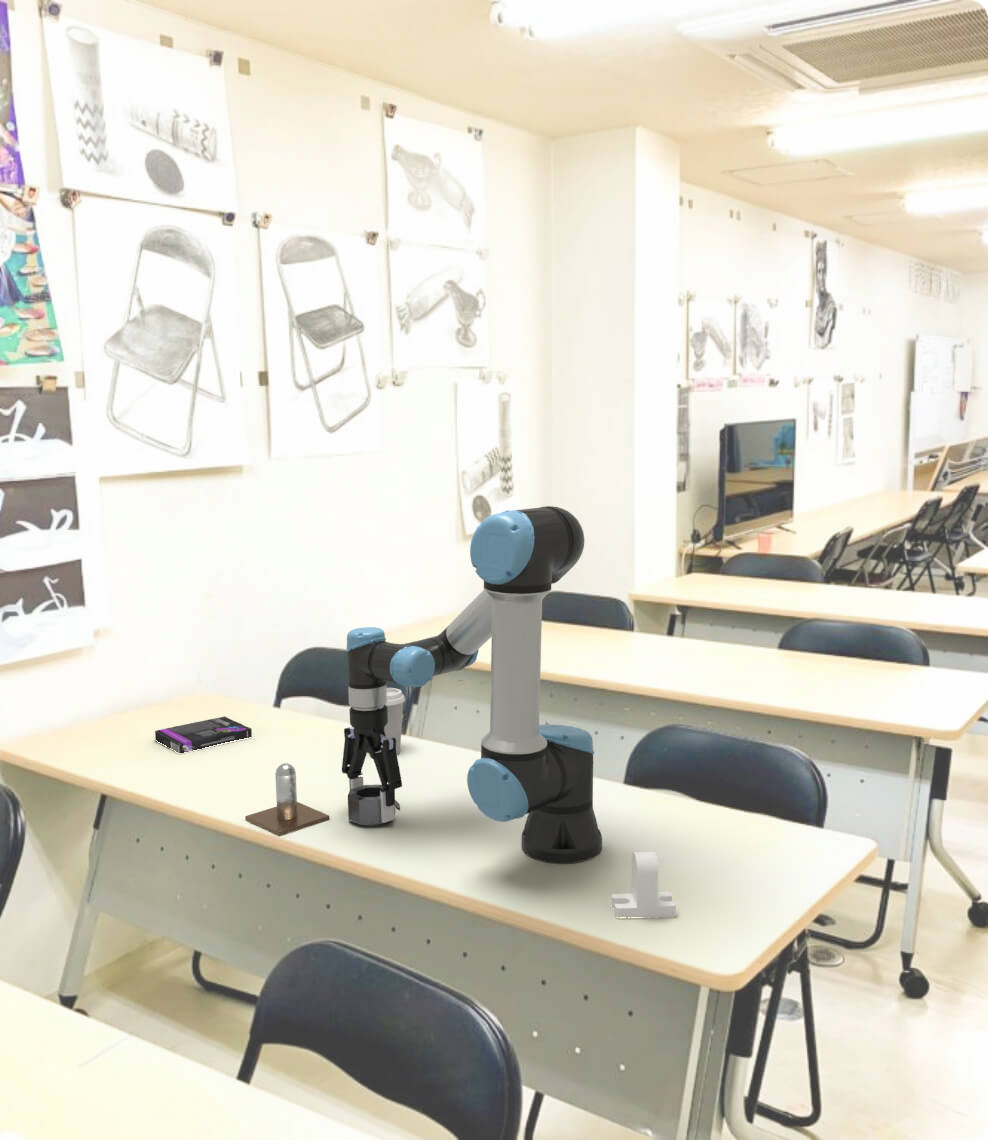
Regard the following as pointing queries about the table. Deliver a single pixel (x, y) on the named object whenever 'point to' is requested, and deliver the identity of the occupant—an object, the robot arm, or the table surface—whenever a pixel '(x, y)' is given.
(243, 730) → the box
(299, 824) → the piston post
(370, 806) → the ring
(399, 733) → the coffee cup
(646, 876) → the white bearing bracket
